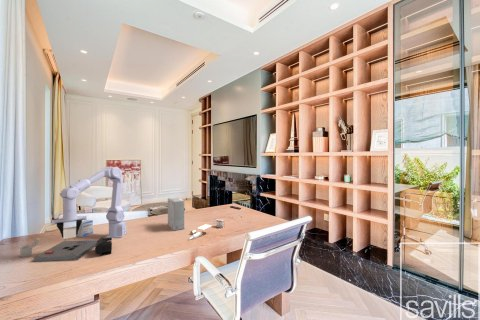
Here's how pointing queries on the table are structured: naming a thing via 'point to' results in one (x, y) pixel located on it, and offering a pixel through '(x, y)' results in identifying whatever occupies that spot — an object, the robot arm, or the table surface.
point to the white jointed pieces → (218, 223)
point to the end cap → (103, 246)
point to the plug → (69, 233)
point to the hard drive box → (176, 213)
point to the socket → (67, 251)
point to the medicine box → (85, 228)
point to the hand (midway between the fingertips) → (70, 235)
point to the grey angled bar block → (27, 249)
